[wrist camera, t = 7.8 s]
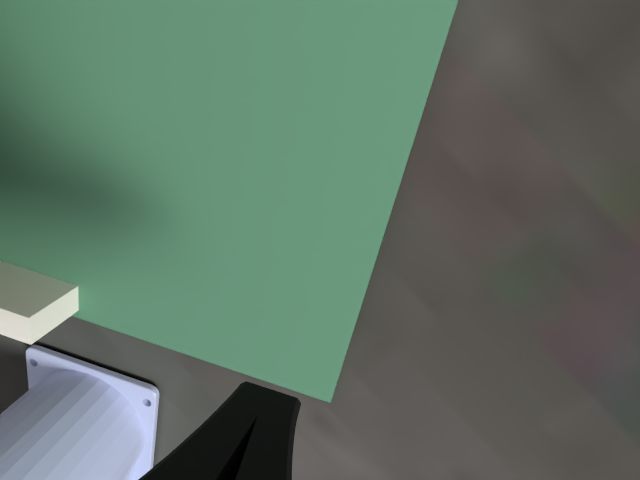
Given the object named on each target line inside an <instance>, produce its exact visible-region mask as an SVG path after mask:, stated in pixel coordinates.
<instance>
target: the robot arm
mask: <svg viewBox="0 0 640 480" xmlns="http://www.w3.org/2000/svg"><path fill="white" fill-rule="evenodd" d="M26 363H27V375H28V386H29V390H28V391H27V392H26V393H25V394H24V395H22V396H21V397H20V398H19V399H18V400H16V401H15V402H14V403H13V404H12V405H10V406H9V407H8V408H7V409H6V410H4V411H3V412H2V413H1V414H0V480H292V454H293V443H294V434H295V426H296V421H297V417H298V414H299V410H300V406H301V403H300V401H299V400H298V398H295V397H292V396H289V395H286V394H283V393H280V392H277V391H274V390H271V389H268V388H265V387H262V386H259V385H256V384H252V383H249V382H244V383H242V384H240V385H239V387H238V388H237V389H236V390H235V391H234V392H233V393H232V395H231V396H230V397H229V398H228V399H227V400H226V401H225V402H224V403H223V404H222V405H221V406H220V407H219V408H218V409H217V410H216V411H215V412H214V413H213V414H212V415H211V416H210V417H209V418H208V419H207V420H206V421H205V422H204V423H203V424H202V425H201V426H200V427H199V428H198V429H197V430H195V431H194V432H193V433H192V434H191V435H190V436H189V437H188V438H187V439H186V440H184V441H183V442H182V443H181V444H180V445H179V446H178V447H177V448H176V449H175V450H173V451H172V452H171V453H170V454H169V455H168V456H166V457H165V458H164V459H163V460H162V461H160V462H159V463H158V464H157V465H155V466H154V467H153V461H154V449H155V438H156V427H157V415H158V404H159V391H158V389H157V388H156V387H155V386H153V385H151V384H148V383H145V382H142V381H139V380H137V379H134V378H131V377H128V376H125V375H122V374H119V373H116V372H114V371H111V370H108V369H105V368H102V367H99V366H96V365H93V364H90V363H88V362H85V361H82V360H79V359H76V358H73V357H70V356H67V355H65V354H62V353H59V352H56V351H53V350H50V349H47V348H44V347H42V346H39V345H32V346H30V347H29V348H28V349H27V350H26Z"/></svg>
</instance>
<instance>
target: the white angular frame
mask: <svg viewBox="0 0 640 480" xmlns="http://www.w3.org/2000/svg"><path fill="white" fill-rule="evenodd" d="M78 310H79V303H78V286H77V285H74V284H70V283H67V282H64V281H61V280H58V279H55V278H52V277H49V276H46V275H43V274H40V273H37V272H34V271H31V270H28V269H25V268H22V267H19V266H16V265H13V264H10V263H7V262H3V261H0V334H1V335H4V336H7V337H10V338H13V339H16V340H18V341H21V342H24V343H27V344H30V345H31V344H33V343H34V342H36V341H37V340H38V339H40V338H41V337H43V336H44V335H45V334H47V333H48V332H49V331H51V330H52V329H54V328H55V327H56V326H58V325H59V324H60V323H62V322H63V321H65V320H66V319H67V318H69V317H70V316H72V315H73V314H74V313H76V312H77V311H78Z"/></svg>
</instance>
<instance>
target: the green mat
mask: <svg viewBox="0 0 640 480" xmlns="http://www.w3.org/2000/svg"><path fill="white" fill-rule="evenodd" d="M457 3H458V0H0V261H3V262H7V263H10V264H13V265H16V266H19V267H22V268H25V269H28V270H31V271H34V272H37V273H40V274H43V275H46V276H49V277H52V278H55V279H58V280H61V281H64V282H67V283H70V284H74V285H77V286H78V303H79V310H78V311H77V312H76V313H74V314H73V315H72V316H74V317H77V318H80V319H83V320H86V321H89V322H92V323H95V324H98V325H100V326H103V327H106V328H109V329H112V330H115V331H118V332H121V333H124V334H127V335H130V336H133V337H136V338H139V339H142V340H145V341H148V342H151V343H154V344H157V345H160V346H163V347H166V348H169V349H172V350H175V351H178V352H181V353H184V354H187V355H190V356H193V357H196V358H199V359H202V360H204V361H207V362H210V363H213V364H216V365H219V366H222V367H225V368H228V369H231V370H234V371H237V372H240V373H243V374H246V375H249V376H252V377H255V378H258V379H261V380H264V381H267V382H270V383H273V384H276V385H279V386H282V387H285V388H288V389H291V390H294V391H297V392H300V393H303V394H305V395H308V396H311V397H314V398H317V399H320V400H323V401H326V402H329V403H331V400H332V396H333V393H334V390H335V387H336V384H337V381H338V378H339V374H340V371H341V368H342V365H343V362H344V359H345V356H346V352H347V349H348V346H349V343H350V340H351V337H352V333H353V330H354V327H355V324H356V321H357V318H358V315H359V311H360V308H361V305H362V302H363V299H364V296H365V292H366V289H367V286H368V283H369V280H370V277H371V274H372V270H373V267H374V264H375V261H376V258H377V255H378V252H379V248H380V245H381V242H382V239H383V236H384V233H385V229H386V226H387V223H388V220H389V217H390V214H391V211H392V207H393V204H394V201H395V198H396V195H397V192H398V188H399V185H400V182H401V179H402V176H403V173H404V170H405V166H406V163H407V160H408V157H409V154H410V151H411V148H412V144H413V141H414V138H415V135H416V132H417V129H418V125H419V122H420V119H421V116H422V113H423V110H424V107H425V103H426V100H427V97H428V94H429V91H430V88H431V84H432V81H433V78H434V75H435V72H436V69H437V66H438V62H439V59H440V56H441V53H442V50H443V47H444V44H445V40H446V37H447V34H448V31H449V28H450V25H451V21H452V18H453V15H454V12H455V9H456V6H457Z"/></svg>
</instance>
